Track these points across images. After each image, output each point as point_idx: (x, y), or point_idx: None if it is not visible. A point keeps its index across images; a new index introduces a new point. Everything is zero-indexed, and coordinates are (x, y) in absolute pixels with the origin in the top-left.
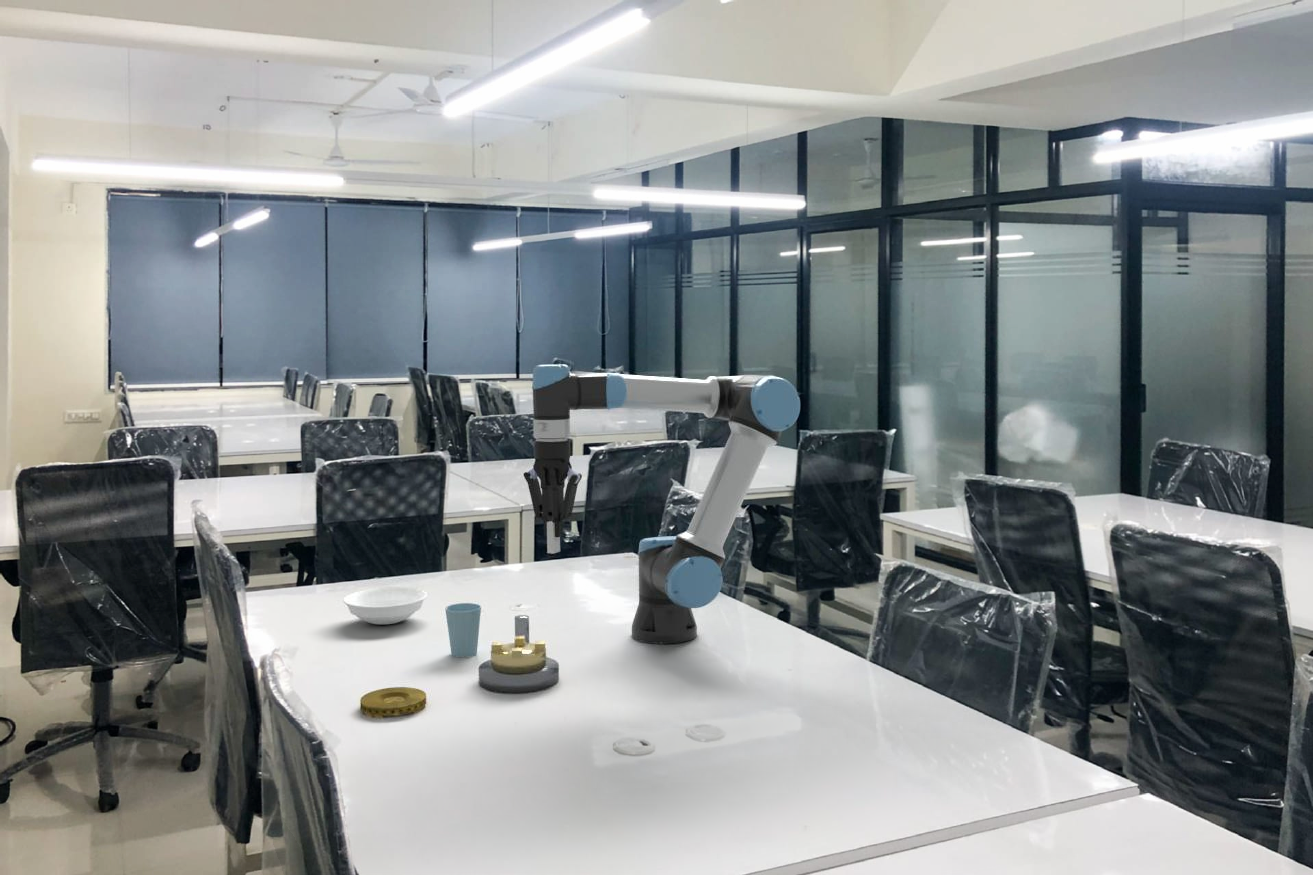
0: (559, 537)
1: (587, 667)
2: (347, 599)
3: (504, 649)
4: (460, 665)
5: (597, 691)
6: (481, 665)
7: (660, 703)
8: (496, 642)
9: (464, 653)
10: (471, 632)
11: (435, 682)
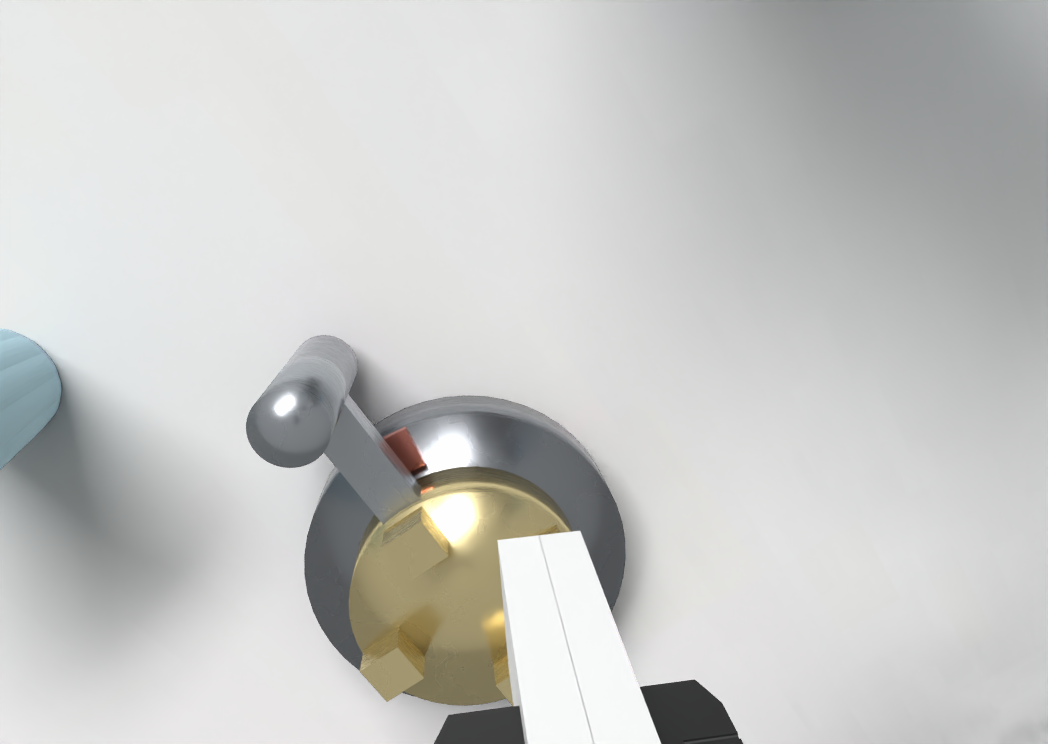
0: (617, 641)
1: (604, 273)
2: None
3: (408, 623)
4: (127, 512)
5: (777, 484)
6: (329, 629)
7: (1012, 474)
8: (378, 663)
9: (40, 430)
10: (11, 445)
11: (211, 695)
